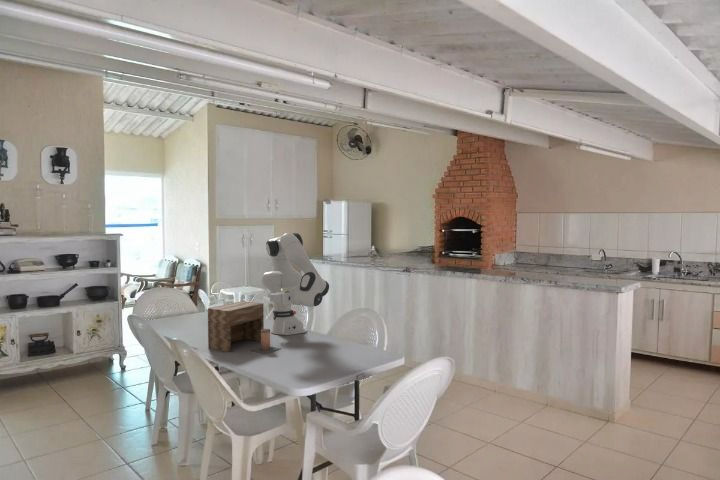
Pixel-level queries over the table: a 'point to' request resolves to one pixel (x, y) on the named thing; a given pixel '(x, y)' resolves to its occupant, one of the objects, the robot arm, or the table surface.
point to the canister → (265, 339)
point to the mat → (266, 350)
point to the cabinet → (234, 324)
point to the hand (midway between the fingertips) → (274, 293)
